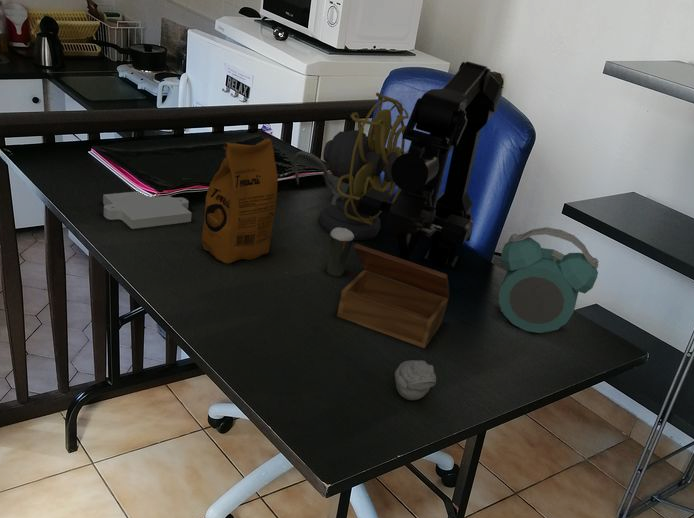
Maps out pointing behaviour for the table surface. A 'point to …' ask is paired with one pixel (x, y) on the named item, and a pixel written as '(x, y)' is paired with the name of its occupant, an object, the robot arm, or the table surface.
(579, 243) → the alarm clock
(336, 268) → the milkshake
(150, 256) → the table surface
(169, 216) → the mounting plate
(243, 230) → the coffee package
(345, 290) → the brown open rectangular box
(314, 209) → the table surface
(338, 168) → the electric fan
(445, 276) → the lid
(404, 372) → the grey lumpy ball
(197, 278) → the table surface
